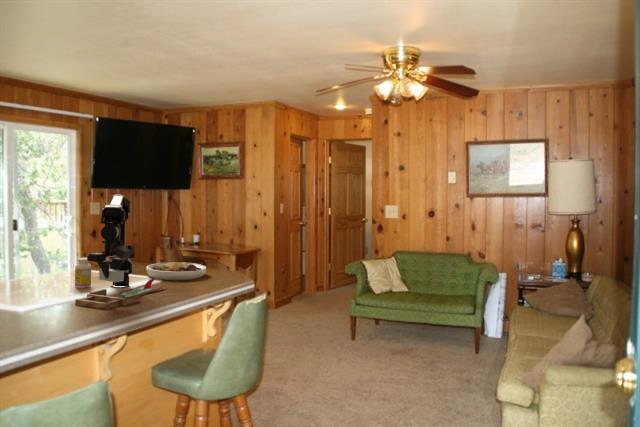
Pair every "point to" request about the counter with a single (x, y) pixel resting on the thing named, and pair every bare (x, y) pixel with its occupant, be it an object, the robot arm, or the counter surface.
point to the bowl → (176, 271)
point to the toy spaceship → (143, 289)
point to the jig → (105, 300)
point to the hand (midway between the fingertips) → (111, 277)
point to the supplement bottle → (82, 273)
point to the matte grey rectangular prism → (112, 275)
